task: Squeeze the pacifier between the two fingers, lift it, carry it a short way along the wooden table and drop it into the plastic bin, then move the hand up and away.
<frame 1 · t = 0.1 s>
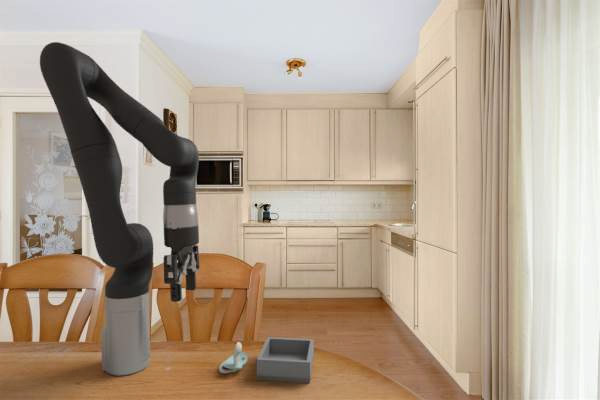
hand: (184, 295, 81), 17 cm above the table, tool pointing down, fingers open, 8 cm apart
pacifier: (232, 369, 83), on the table
bin: (287, 367, 83), on the table
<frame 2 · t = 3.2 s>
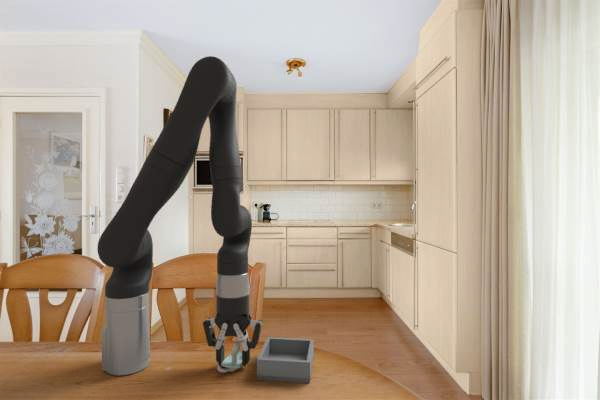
hand: (233, 363, 83), 1 cm above the table, tool pointing down, fingers closed on pacifier, 5 cm apart
pacifier: (230, 368, 83), on the table, touching gripper
when the fingers open (4 cm above the table, at t = 8.7 s): pacifier drops 2 cm, resting on bin.
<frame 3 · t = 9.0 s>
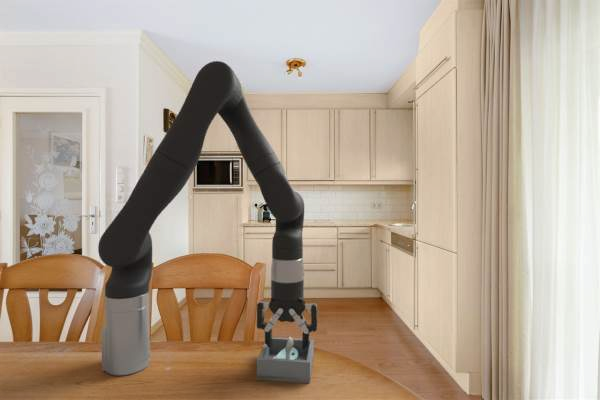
hand: (287, 346, 82), 5 cm above the table, tool pointing down, fingers open, 7 cm apart
pacifier: (283, 364, 83), point 1 cm above the table, touching bin
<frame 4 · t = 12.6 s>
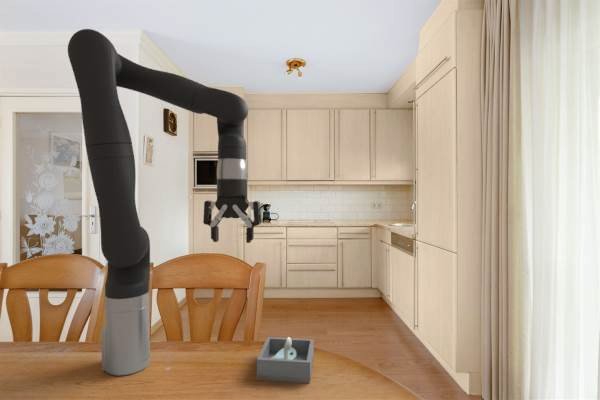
hand: (232, 242, 90), 28 cm above the table, tool pointing down, fingers open, 8 cm apart
nothing on the table moved.
at the end: pacifier inside the target area on the bin (1.1 cm from its centre), point 0.8 cm above the bin's base; the gripper is holding nothing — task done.
